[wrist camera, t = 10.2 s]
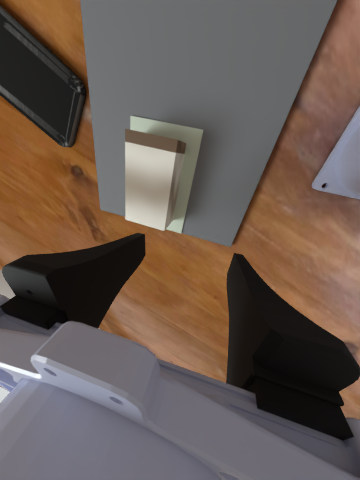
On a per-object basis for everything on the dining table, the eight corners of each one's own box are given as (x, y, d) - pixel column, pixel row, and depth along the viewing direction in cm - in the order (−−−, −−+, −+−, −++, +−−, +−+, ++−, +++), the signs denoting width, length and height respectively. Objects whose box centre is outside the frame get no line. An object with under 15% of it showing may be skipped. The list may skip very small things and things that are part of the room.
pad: (131, 115, 16) (130, 115, 16) (203, 130, 15) (203, 129, 15) (130, 218, 22) (129, 218, 22) (181, 232, 21) (181, 233, 21)
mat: (377, -100, 9) (387, -116, 8) (230, 244, 21) (230, 247, 20) (76, -99, 11) (69, -111, 11) (103, 208, 23) (100, 209, 23)
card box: (172, 220, 20) (164, 230, 17) (139, 210, 21) (125, 219, 18) (186, 143, 16) (177, 139, 13) (142, 134, 16) (125, 128, 13)
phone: (67, 151, 20) (-41, 61, 18) (74, 151, 21) (-28, 66, 19) (83, 82, 16) (-54, -44, 14) (91, 86, 17) (-36, -31, 15)
